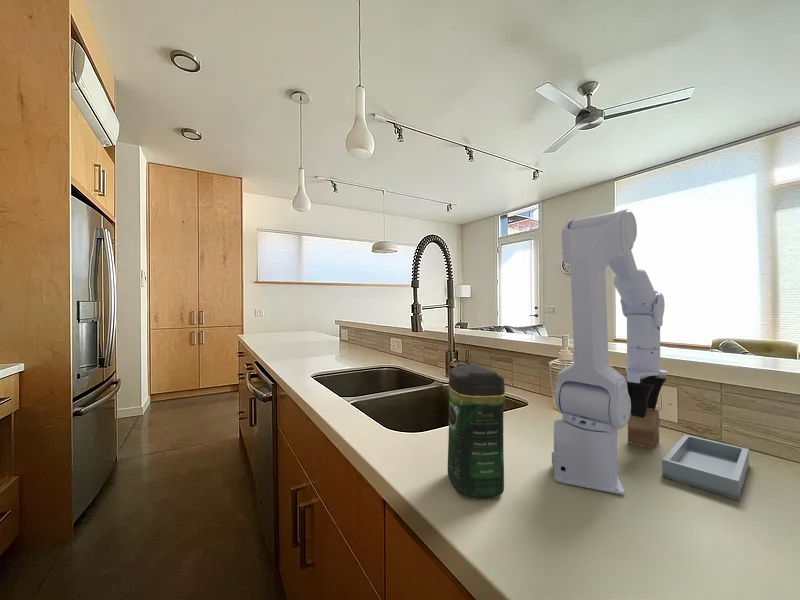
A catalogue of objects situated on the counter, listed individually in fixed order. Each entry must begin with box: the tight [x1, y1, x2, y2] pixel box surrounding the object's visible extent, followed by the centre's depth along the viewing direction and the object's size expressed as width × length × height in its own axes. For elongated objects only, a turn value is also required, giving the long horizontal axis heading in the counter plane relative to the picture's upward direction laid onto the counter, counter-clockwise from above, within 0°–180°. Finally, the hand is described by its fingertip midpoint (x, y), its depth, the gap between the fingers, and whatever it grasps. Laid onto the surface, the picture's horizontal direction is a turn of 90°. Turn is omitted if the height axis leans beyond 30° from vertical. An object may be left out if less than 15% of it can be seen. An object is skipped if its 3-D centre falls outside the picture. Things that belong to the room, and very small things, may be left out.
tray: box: [661, 434, 750, 501], centre depth 58 cm, size 18×9×3 cm, turn 131°
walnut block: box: [627, 408, 660, 450], centre depth 70 cm, size 4×4×7 cm
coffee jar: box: [447, 363, 506, 501], centre depth 53 cm, size 10×8×19 cm
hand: (643, 412), depth 70 cm, fingers open, 7 cm apart
